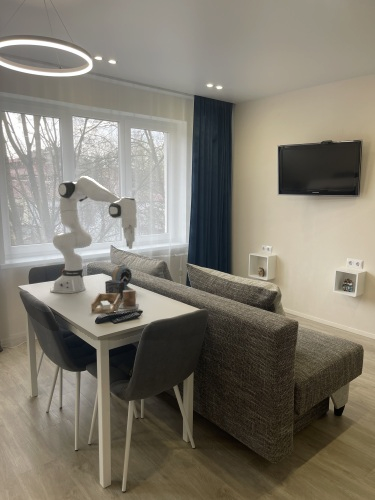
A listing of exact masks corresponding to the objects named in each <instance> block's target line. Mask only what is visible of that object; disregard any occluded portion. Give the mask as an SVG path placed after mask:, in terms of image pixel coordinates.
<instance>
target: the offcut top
mask: <svg viewBox="0 0 375 500" xmlns="http://www.w3.org/2000/svg"><path fill="white" fill-rule="evenodd" d="M99 304H100V305H99V306H101V307H102V309H103V310H104V309H111V306H112V305H111V302H108V301H100V303H99Z"/></svg>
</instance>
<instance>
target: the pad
mask: <svg viewBox="0 0 375 500" xmlns="http://www.w3.org/2000/svg"><path fill="white" fill-rule="evenodd" d="M139 305H140V304H139V303H136V306H131V307H123V303H121V305H120V307H119V309H121V310H123V309H124V310H125V309H128V310H130V309H133V310H134V309H135V310H137V309H138V308H139Z"/></svg>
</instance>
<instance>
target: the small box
mask: <svg viewBox="0 0 375 500" xmlns="http://www.w3.org/2000/svg"><path fill="white" fill-rule="evenodd" d="M104 283H105V294H120V300H121V299H122V300H123V291H124V281H116V280H112V279H109V280H106V281H105V282H104Z"/></svg>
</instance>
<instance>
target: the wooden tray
mask: <svg viewBox="0 0 375 500" xmlns="http://www.w3.org/2000/svg"><path fill="white" fill-rule="evenodd" d="M100 301H108V302H109V303H113V304H112V306H113V307H114V309H104V310H103V309H96V307H97V306H100V305H99V304H100ZM120 303H121V299H120V294H106V293H98V294H97V296H95V298H94V299H93V301H92V302H91V313H92V314H94V313H97V314H98V313H99V314H100V313H103V314H104V313H107V312H114V311H116V312H117V310H118V308H119V306H120ZM107 314H108V313H107Z"/></svg>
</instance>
